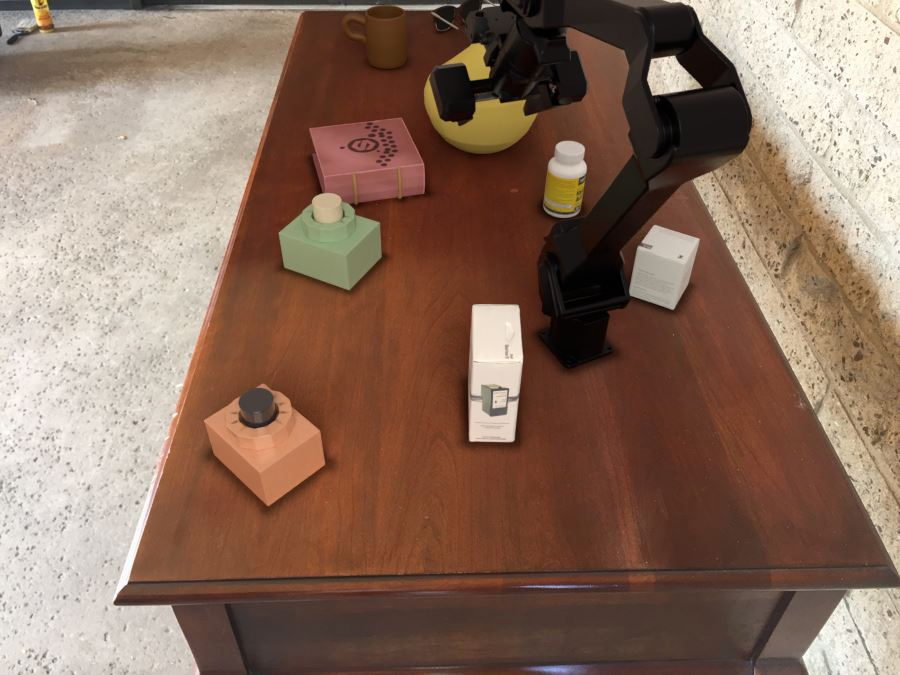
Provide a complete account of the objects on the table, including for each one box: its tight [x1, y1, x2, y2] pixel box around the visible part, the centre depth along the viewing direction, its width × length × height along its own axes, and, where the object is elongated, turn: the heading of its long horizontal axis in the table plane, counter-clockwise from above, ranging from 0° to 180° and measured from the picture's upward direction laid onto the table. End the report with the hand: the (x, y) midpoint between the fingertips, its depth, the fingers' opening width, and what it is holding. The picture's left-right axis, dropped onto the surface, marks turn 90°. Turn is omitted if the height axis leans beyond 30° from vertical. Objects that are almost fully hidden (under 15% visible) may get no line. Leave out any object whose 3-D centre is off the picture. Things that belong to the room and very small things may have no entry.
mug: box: [340, 4, 408, 70], centre depth 145 cm, size 12×8×9 cm, turn 92°
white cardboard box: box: [628, 224, 700, 311], centre depth 96 cm, size 6×6×7 cm
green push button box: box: [278, 202, 383, 291], centre depth 99 cm, size 10×8×8 cm
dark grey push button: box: [238, 387, 277, 428], centre depth 73 cm, size 3×3×2 cm
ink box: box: [467, 303, 524, 443], centre depth 79 cm, size 9×5×12 cm, turn 0°
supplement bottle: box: [542, 140, 588, 219], centre depth 109 cm, size 5×5×10 cm
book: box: [308, 117, 426, 205], centre depth 116 cm, size 14×15×5 cm
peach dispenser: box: [203, 383, 326, 507], centre depth 75 cm, size 9×7×7 cm
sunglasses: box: [431, 0, 497, 36], centre depth 156 cm, size 14×16×5 cm
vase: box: [423, 43, 539, 155], centre depth 120 cm, size 18×18×19 cm
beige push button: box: [311, 192, 343, 224], centre depth 96 cm, size 4×4×2 cm
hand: (492, 117), depth 101 cm, fingers open, 9 cm apart
